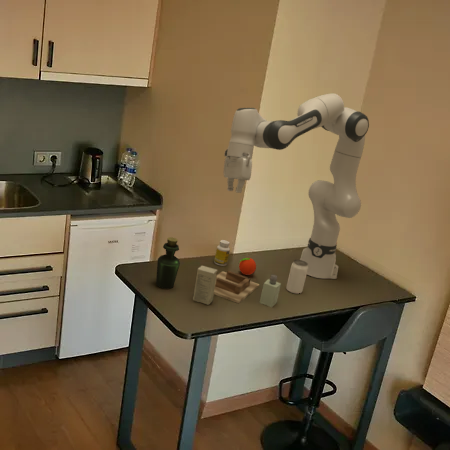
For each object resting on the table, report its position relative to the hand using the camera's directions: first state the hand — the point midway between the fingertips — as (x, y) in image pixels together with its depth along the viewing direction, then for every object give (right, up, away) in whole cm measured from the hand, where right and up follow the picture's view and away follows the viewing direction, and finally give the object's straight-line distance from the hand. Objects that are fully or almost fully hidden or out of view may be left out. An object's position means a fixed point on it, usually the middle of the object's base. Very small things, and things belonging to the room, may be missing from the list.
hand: (234, 191), depth 216 cm
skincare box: (-11, -39, 0) cm, 40 cm away
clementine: (+5, -32, +30) cm, 44 cm away
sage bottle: (+13, -40, +9) cm, 43 cm away
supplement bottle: (-5, -28, +36) cm, 46 cm away
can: (+24, -38, +24) cm, 51 cm away
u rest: (-1, -36, +15) cm, 39 cm away
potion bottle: (-25, -34, +6) cm, 43 cm away
